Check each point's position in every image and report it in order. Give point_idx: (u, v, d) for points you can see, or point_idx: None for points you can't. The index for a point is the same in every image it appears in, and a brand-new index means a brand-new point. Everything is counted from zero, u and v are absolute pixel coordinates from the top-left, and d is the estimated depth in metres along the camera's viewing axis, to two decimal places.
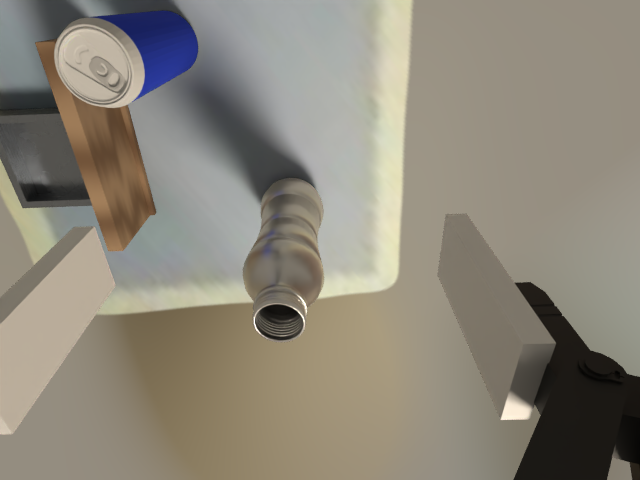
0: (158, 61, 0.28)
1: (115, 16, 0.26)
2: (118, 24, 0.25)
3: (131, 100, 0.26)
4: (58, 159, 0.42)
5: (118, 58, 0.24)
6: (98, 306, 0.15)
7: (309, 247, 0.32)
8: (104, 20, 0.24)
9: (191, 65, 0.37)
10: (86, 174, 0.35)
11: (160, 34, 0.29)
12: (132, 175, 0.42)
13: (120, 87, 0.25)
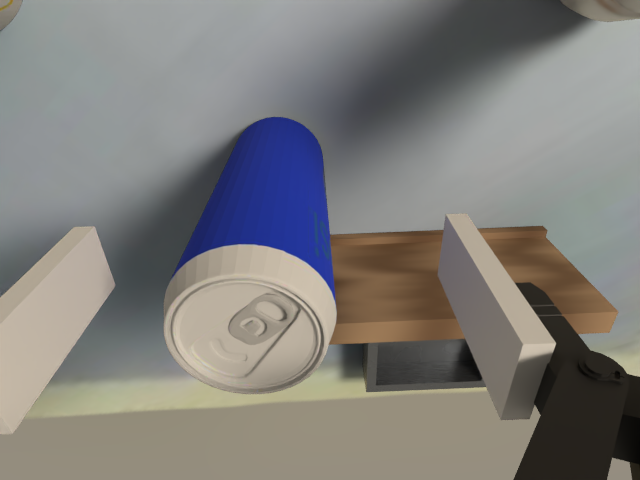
0: (258, 200, 0.13)
1: None
2: (175, 271, 0.12)
3: (320, 281, 0.12)
4: None
5: (225, 295, 0.11)
6: (98, 306, 0.15)
7: None
8: (165, 297, 0.12)
9: (308, 132, 0.23)
10: (461, 332, 0.21)
11: (227, 182, 0.16)
12: None
13: (287, 302, 0.11)
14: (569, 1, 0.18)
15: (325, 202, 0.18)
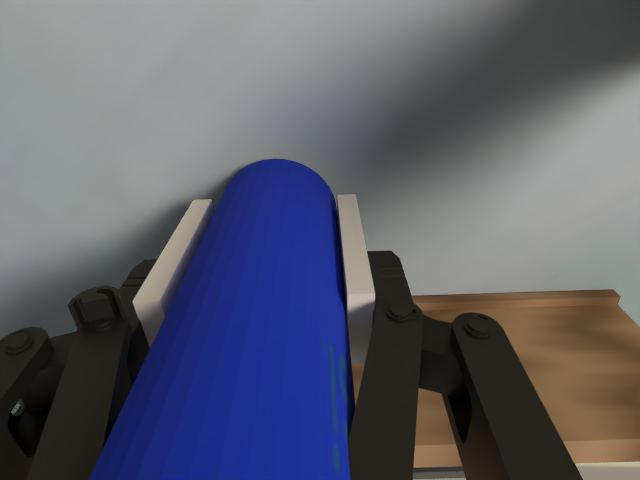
0: (236, 346, 0.08)
1: None
2: None
3: None
4: None
5: None
6: None
7: None
8: None
9: (318, 179, 0.17)
10: None
11: (195, 287, 0.10)
12: (527, 326, 0.20)
13: None
14: None
15: (343, 300, 0.12)
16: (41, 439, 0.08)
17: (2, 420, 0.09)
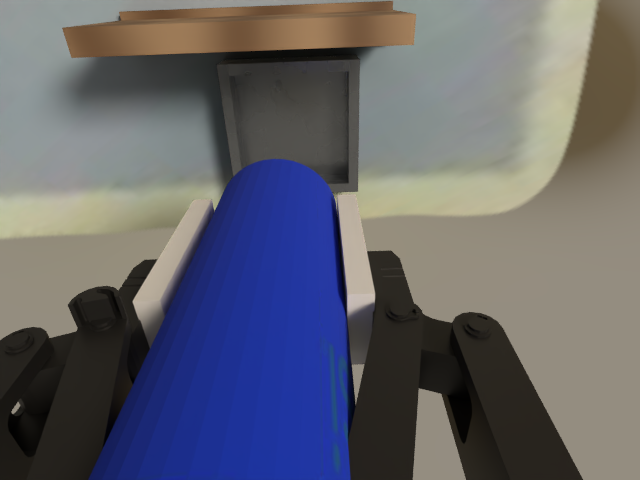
0: (236, 346, 0.08)
1: None
2: None
3: None
4: (298, 131, 0.31)
5: None
6: None
7: None
8: None
9: (318, 179, 0.17)
10: (264, 41, 0.21)
11: (195, 287, 0.10)
12: None
13: None
14: None
15: (343, 300, 0.12)
16: (41, 439, 0.08)
17: (2, 419, 0.09)
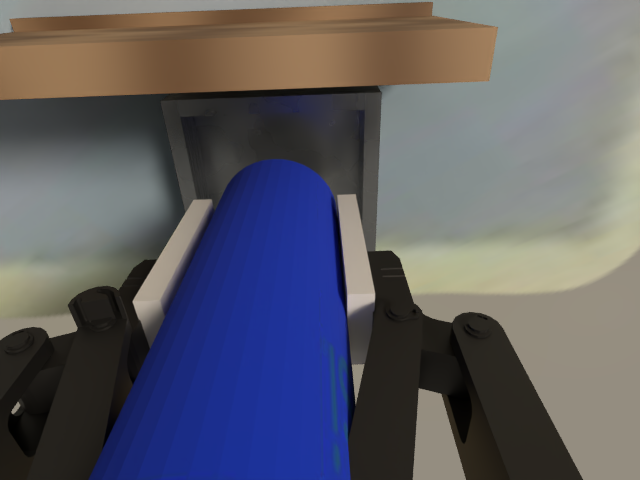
0: (237, 346, 0.08)
1: None
2: None
3: None
4: None
5: None
6: None
7: None
8: None
9: (318, 179, 0.17)
10: (221, 75, 0.12)
11: (195, 287, 0.10)
12: (309, 22, 0.16)
13: None
14: None
15: (343, 300, 0.12)
16: (41, 439, 0.08)
17: (2, 419, 0.09)
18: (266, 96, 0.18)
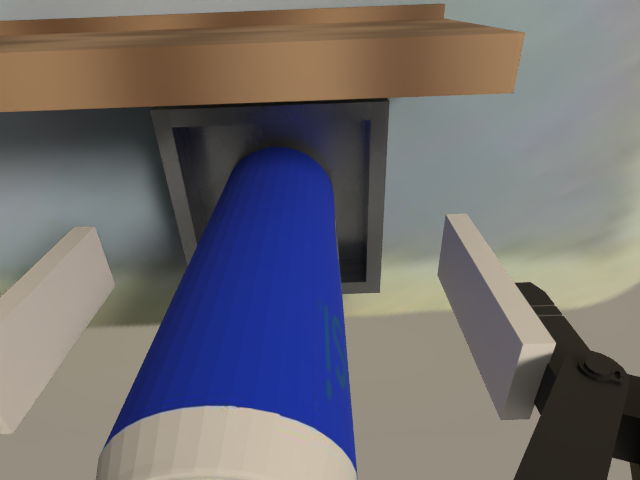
0: (244, 301, 0.09)
1: None
2: (116, 422, 0.08)
3: (334, 454, 0.07)
4: None
5: None
6: (98, 306, 0.15)
7: None
8: None
9: (316, 165, 0.18)
10: (212, 86, 0.11)
11: (206, 256, 0.12)
12: (311, 25, 0.15)
13: None
14: None
15: (338, 272, 0.13)
16: None
17: None
18: (264, 105, 0.16)
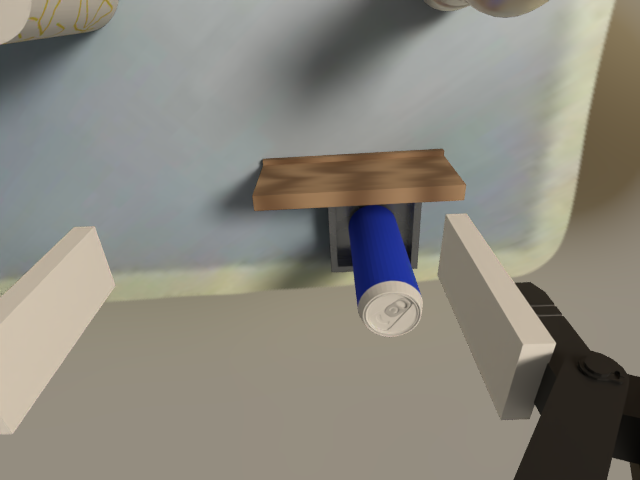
0: (388, 261, 0.34)
1: (356, 284, 0.35)
2: (362, 289, 0.33)
3: (418, 293, 0.32)
4: None
5: (387, 298, 0.31)
6: (98, 306, 0.15)
7: None
8: (360, 299, 0.32)
9: (390, 212, 0.43)
10: (372, 200, 0.35)
11: (368, 250, 0.36)
12: (392, 163, 0.40)
13: (408, 301, 0.32)
14: (423, 0, 0.32)
15: None
16: None
17: None
18: None
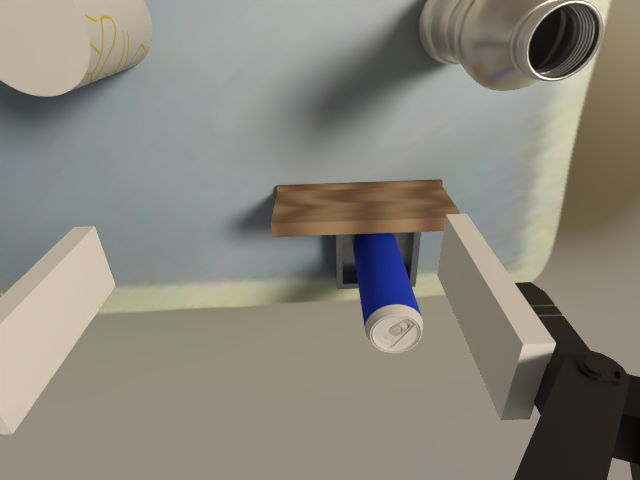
0: (392, 285, 0.38)
1: (363, 305, 0.39)
2: (369, 311, 0.37)
3: (419, 315, 0.36)
4: None
5: (391, 320, 0.35)
6: (98, 306, 0.15)
7: None
8: (367, 320, 0.36)
9: (392, 236, 0.47)
10: (379, 229, 0.39)
11: (373, 273, 0.40)
12: (396, 193, 0.44)
13: (410, 322, 0.35)
14: None
15: (408, 277, 0.42)
16: None
17: None
18: None
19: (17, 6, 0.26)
